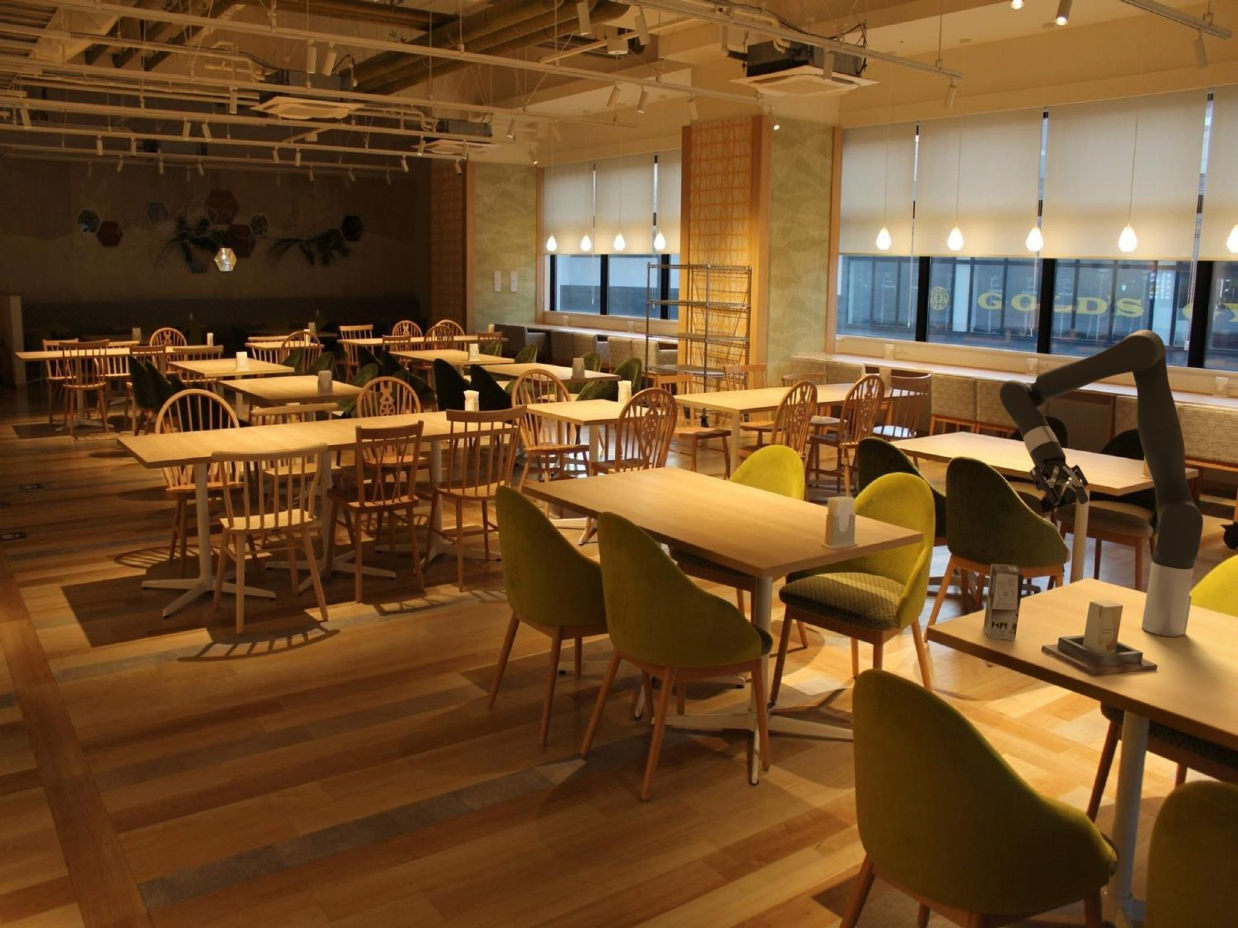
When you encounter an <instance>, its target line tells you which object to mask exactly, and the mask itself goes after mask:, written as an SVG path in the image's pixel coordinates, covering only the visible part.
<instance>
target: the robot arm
mask: <svg viewBox="0 0 1238 928" xmlns="http://www.w3.org/2000/svg"><path fill="white" fill-rule="evenodd" d="M1166 356H1167V354H1166V348H1165V344H1164V341H1163V339H1162V338H1161V336H1160V335H1158V334H1157V333H1156V332H1155V331H1152V330H1150V329H1141V330H1140V329H1139V330H1137V331H1135V332H1133V333H1131V334H1128V335H1126V337H1124V338H1123V339H1122V340H1120V341H1118V342H1117V343H1115V344H1113V345H1112V346H1110V347H1109V348H1106V349H1104V350H1102V351H1100V352H1098V353H1096V354H1093V355H1090V356H1088V357H1085V358H1082V359H1078V360H1075V361H1070V362H1068V363H1064V364H1062V365H1060V366H1057V367H1054V368H1052V369H1051V368H1050V369H1048V370H1046V371H1044V372H1041V373H1039V374H1038V375H1037V377H1036V379H1035V382H1033V383H1031V384H1025V383H1023V382H1022V381H1020V380H1016V379H1011V380H1008V381H1005V382H1004V383H1003V384H1002V385H1001V387H1000V390H999V398H1000V402H1001V404H1002V407H1003V408H1004V409H1005V411H1006V413H1008V415H1009V417H1010V418H1011V419H1012V420H1013V422H1014V423H1015V425H1016V426H1017V429H1018V431H1019V433H1020V435H1021V438H1022V439H1023V442H1024V447H1025V448H1026V450H1027V452H1028V454H1029V456H1030V458H1031V460H1032V463H1033V464H1034V466H1033V468H1031V469H1030V470H1029V474H1030V477H1031V479H1032V481H1033V484H1034V486H1035V488H1036V490H1037V491H1039V492H1040V491H1043V492H1044V493H1045V494H1046V496H1047V497H1048V499H1049V502H1050V503H1051V504H1052V505H1053V506H1057V505H1059V504H1060V503H1061V498H1060V496H1059V494H1058V492H1057V490H1056V488H1055V487H1054V486H1055V485H1064V486H1065V487H1066V488H1070V489H1071V490H1072V491H1074V495H1075V496H1076V498H1077V501H1078V502H1079V504H1080V505H1085V504H1087V502H1089V496H1088V495H1087V493H1086V490H1085V488H1086V487H1087V486H1088V485H1089V481H1088V480H1087V478H1086V477H1085V474H1084V473H1083V471H1082V469H1081V467H1080V466H1079V465H1078V464H1075V465H1074V466H1069V465H1068V464H1067V463H1066V461H1067V456H1066V454H1065V452H1064V450H1063V448H1062V446H1061V444H1060V441H1059V440H1058V438H1057V436H1056V434H1055V432H1054V431H1053V429H1052V428H1051V427H1050V425H1049V423H1048V421H1047V419H1046V417H1045V414H1043V413H1042V411H1041V410H1039V409H1038V408H1040V407H1041V406H1042V405H1045V404H1046V403H1047V402H1048V401H1050V400H1051V399H1054V398H1057V397H1060V396H1063V395H1065V394H1068V393H1071V392H1074V391H1077V390H1079V389H1081V388H1083V387H1085V386H1088V385H1090V384H1093V383H1095V382H1097V381H1101V380H1103V379H1106V378H1111V377H1114V376H1118V375H1123V374H1128V373H1132V375H1133V379H1134V382H1135V387H1136V394H1137V397H1136V399H1137V400H1136V423H1137V430H1138V436H1139V441H1140V444H1141V449H1142V452H1143V455H1144V459H1145V462H1146V464H1147V467H1148V470H1149V473H1150V475H1151V479H1152V482H1153V485H1154V486H1153V488H1154V492H1155V501H1156V502H1155V503H1156V512H1157V521H1158V523H1159V526H1158V532H1157V533H1158V534H1157V539H1156V544H1155V548H1154V550H1153V552H1152V559H1151V564H1150V572H1149V579H1148V584H1147V591H1146V597H1145V604H1144V609H1143V615H1142V616H1143V617H1142V620H1141V621H1142V623H1141V628H1142V629H1143V630H1144V631H1146V632H1148V633H1151V634H1155V635H1158V636H1163V637H1172V638H1173V637H1175V638H1176V637H1181V636H1183V635H1184V634H1186V633H1187V628H1188V621H1189V617H1190V616H1189V615H1190V611H1191V606H1192V605H1191V602H1192V596H1191V595H1190V593H1191V586H1192V580H1193V573H1194V567H1195V562H1196V560H1197V557H1198V554H1199V549H1200V545H1201V544H1200V543H1201V539H1202V534H1203V528H1204V518H1203V517H1204V516H1203V514H1202V512H1201V511H1200V509H1199V508H1198V507H1197V506H1196V503H1195V501H1194V498H1193V496H1192V493H1191V490H1190V486H1189V483H1188V480H1187V479H1188V478H1187V475H1186V450H1185V448H1186V447H1185V443H1184V442H1185V440H1184V436H1183V435H1184V434H1183V430H1182V427H1181V426H1182V425H1181V422H1180V419H1179V413H1178V411H1177V407H1176V403H1175V400H1174V397H1173V394H1172V390H1171V386H1170V383H1169V376H1168V375H1169V374H1168V368H1167V367H1168V366H1167V358H1166ZM1069 479H1070V480H1069Z"/></svg>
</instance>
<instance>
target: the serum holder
mask: <svg viewBox="0 0 1238 928" xmlns="http://www.w3.org/2000/svg"><path fill="white" fill-rule="evenodd" d="M1083 640H1084V634H1081V635H1072V636H1069V635H1068V636H1059V637H1058V641H1057V643H1056V644H1053V643H1052V644H1046V645H1045V644H1044V645H1042V644H1041V651H1042V652H1043V653H1046V654H1048V655H1050V656H1052V657H1054V658H1056V659H1058V660H1060V661H1062V662H1064V663H1066V664H1067V665H1070V666H1072V667H1074V668H1075V669H1077V670H1080V671H1082V672H1084V673H1086V674H1088V675H1089V676H1091V677H1094V678H1095V677H1104V676H1114V675H1121V674H1131V673H1132V674H1134V673H1141V672H1152V671H1157V670H1158V666H1159V664H1156V663H1154V662H1152V661H1150V660H1148V659H1145V658H1143V655H1144V652H1142V651H1141V650H1138V649H1136V648H1134V647H1131V646H1129V645H1127V644H1125V643H1123V642H1120V641H1118V640H1117V646H1116V652H1115V653H1111V654H1098V653H1096V652H1094V651H1091V650H1089V649H1087V648H1085V647H1083Z"/></svg>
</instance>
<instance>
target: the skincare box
mask: <svg viewBox="0 0 1238 928" xmlns="http://www.w3.org/2000/svg"><path fill="white" fill-rule="evenodd" d="M1123 608H1124V605H1123V604H1120V603H1118V602H1115V601H1112V600H1109V599H1104V600H1094V601H1092V600H1091V601H1089V604H1088V610H1087V617H1086V622H1085V628H1084V634H1083V635H1084V640H1083V647H1085V648H1087V649H1089V650H1091V651H1094V652H1096V653H1098V654H1111V653H1115V652H1116V646H1117V641H1118V639H1119V632H1120V626H1121V620H1122V614H1123V610H1124V609H1123Z"/></svg>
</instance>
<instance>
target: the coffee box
mask: <svg viewBox="0 0 1238 928" xmlns="http://www.w3.org/2000/svg"><path fill="white" fill-rule="evenodd" d="M1024 578H1025V574H1024V572H1023V571H1022V570H1021V568H1020V567H1019V566H1018V565H1013V564H1005V563H1001V564H1000V563H999V564H998V563H990V571H989V580H988V587H987V588H988V589H987V596H986V605H985V614H984V622H983V627H984V630H985V633H986V634H987V637H988V638H990V639H999V640H1006V641H1013V642H1014V641H1016V636H1017V628H1018V623H1019V617H1020V616H1019V615H1020V609H1021V607H1020V606H1021V599H1022V593H1023V587H1024Z"/></svg>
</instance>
